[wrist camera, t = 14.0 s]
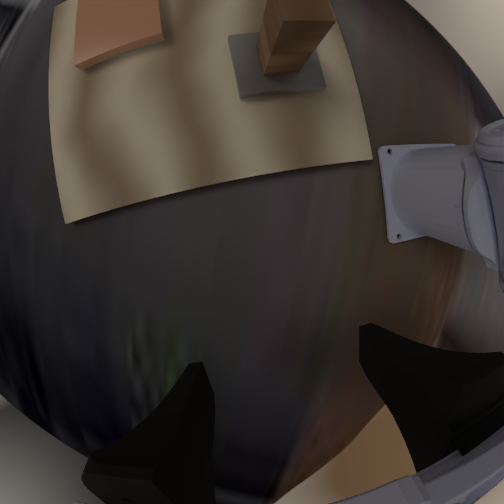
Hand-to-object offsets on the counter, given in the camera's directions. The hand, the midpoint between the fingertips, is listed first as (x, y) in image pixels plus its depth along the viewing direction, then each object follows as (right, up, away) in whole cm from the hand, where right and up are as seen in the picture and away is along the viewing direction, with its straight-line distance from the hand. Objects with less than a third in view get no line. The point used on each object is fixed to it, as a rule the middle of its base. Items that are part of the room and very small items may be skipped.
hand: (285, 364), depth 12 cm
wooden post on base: (0, +18, +5) cm, 19 cm away
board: (-6, +20, +5) cm, 22 cm away
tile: (-11, +20, +3) cm, 23 cm away
